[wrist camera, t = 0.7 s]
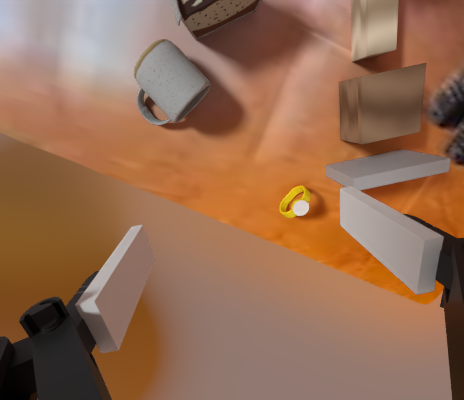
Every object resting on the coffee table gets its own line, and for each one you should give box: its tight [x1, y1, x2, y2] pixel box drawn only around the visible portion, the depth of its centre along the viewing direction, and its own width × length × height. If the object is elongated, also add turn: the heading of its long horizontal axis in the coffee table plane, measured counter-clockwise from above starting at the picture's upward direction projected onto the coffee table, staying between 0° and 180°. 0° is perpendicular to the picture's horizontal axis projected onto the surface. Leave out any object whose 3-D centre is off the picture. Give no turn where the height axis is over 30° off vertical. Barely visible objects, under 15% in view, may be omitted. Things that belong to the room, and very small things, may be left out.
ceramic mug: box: [134, 39, 211, 125], centre depth 33 cm, size 11×8×8 cm
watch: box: [280, 186, 311, 218], centre depth 41 cm, size 6×3×6 cm, turn 141°
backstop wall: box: [326, 149, 451, 190], centre depth 38 cm, size 2×14×9 cm, turn 101°
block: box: [339, 63, 426, 144], centre depth 35 cm, size 9×9×6 cm
